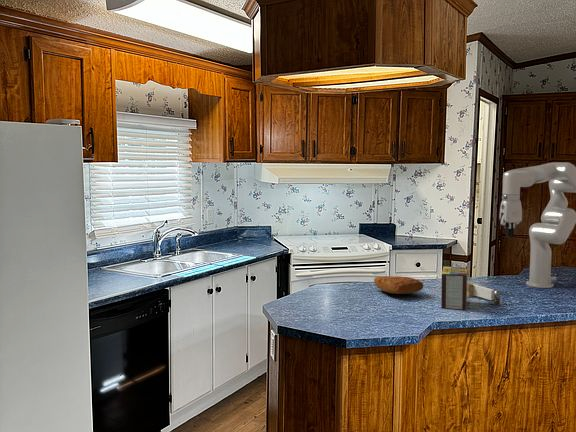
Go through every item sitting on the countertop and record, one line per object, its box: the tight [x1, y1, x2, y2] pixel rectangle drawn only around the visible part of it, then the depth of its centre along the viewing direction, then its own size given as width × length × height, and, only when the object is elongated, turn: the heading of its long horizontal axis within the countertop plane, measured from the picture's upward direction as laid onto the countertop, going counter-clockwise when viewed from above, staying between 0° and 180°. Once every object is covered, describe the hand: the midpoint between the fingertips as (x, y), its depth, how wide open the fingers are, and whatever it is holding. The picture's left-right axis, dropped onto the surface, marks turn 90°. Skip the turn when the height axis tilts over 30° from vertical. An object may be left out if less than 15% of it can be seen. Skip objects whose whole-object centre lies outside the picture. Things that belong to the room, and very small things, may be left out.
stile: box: [467, 283, 474, 298], centre depth 241 cm, size 3×3×6 cm
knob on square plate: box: [488, 289, 506, 307], centre depth 228 cm, size 5×5×6 cm
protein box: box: [440, 266, 468, 311], centre depth 227 cm, size 10×15×16 cm
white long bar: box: [473, 283, 495, 301], centre depth 237 cm, size 14×2×5 cm, turn 24°
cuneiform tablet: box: [373, 275, 424, 295], centre depth 247 cm, size 22×17×8 cm
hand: (509, 236), depth 244 cm, fingers closed
